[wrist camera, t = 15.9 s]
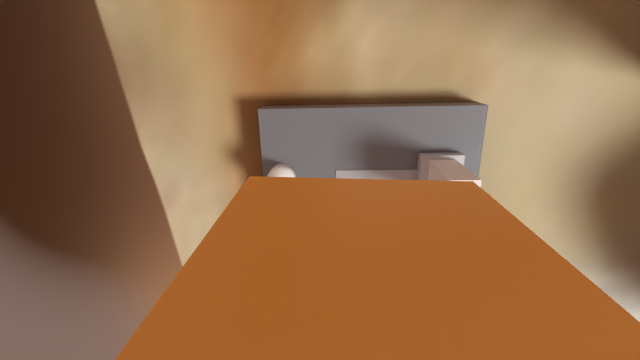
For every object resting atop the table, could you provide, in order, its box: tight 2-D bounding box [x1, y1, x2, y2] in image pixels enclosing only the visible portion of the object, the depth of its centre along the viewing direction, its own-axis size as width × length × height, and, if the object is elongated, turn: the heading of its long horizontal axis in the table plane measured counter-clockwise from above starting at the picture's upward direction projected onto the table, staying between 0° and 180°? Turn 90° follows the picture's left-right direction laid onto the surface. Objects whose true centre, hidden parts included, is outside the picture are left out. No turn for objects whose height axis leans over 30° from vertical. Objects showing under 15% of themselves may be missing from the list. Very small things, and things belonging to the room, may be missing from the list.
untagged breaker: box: [417, 152, 482, 188], centre depth 22 cm, size 3×3×5 cm
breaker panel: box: [258, 102, 488, 180], centre depth 27 cm, size 16×20×4 cm
